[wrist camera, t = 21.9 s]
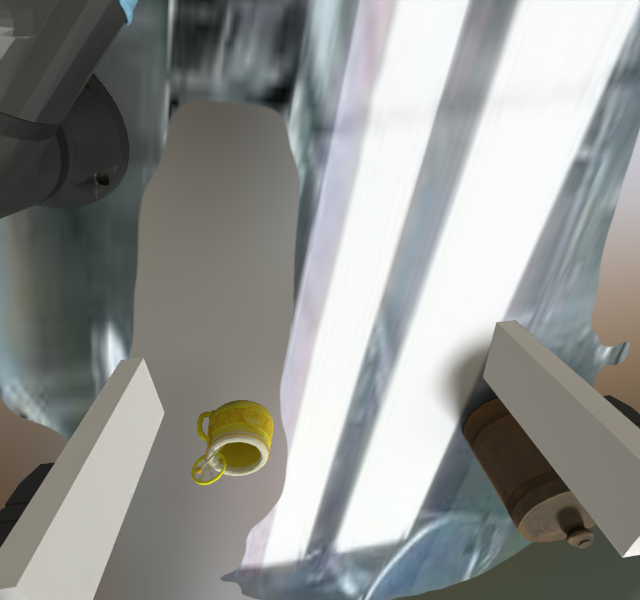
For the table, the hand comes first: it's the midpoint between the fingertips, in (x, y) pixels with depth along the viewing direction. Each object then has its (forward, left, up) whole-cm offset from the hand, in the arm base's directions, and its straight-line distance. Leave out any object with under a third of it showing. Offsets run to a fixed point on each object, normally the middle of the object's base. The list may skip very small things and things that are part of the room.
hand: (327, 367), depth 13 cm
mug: (-13, -37, -33) cm, 51 cm away
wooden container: (+37, -47, -33) cm, 68 cm away
